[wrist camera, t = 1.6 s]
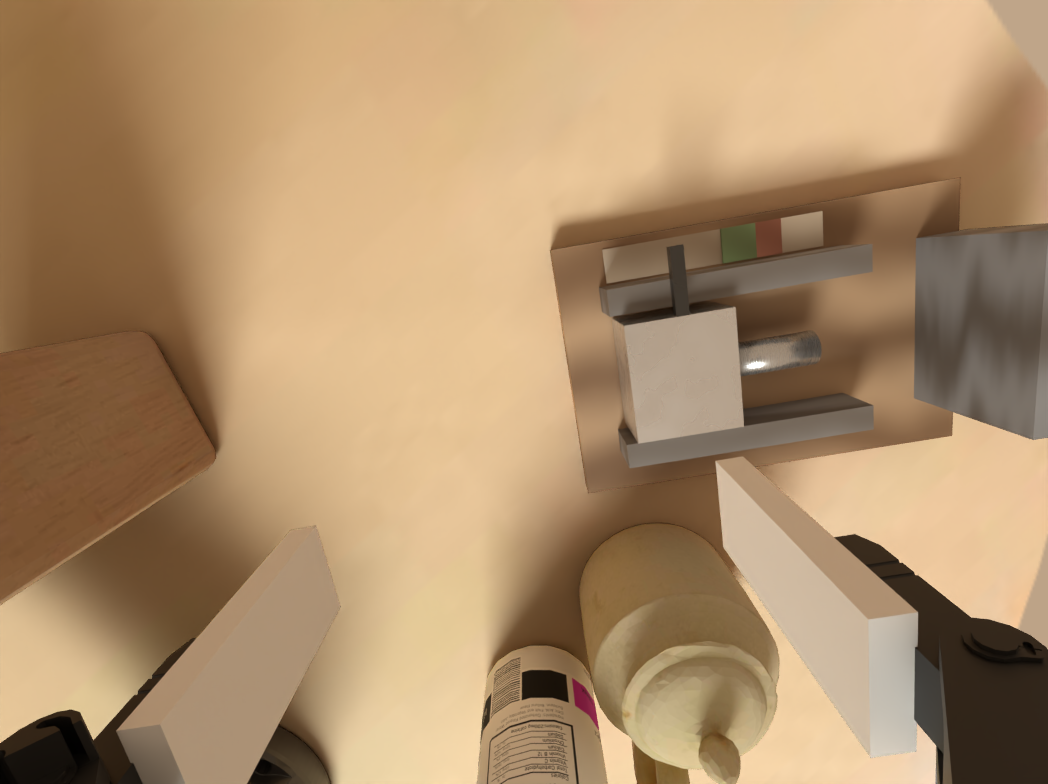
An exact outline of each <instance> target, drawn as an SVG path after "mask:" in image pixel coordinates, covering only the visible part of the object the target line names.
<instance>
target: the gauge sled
mask: <svg viewBox="0 0 1048 784" xmlns="http://www.w3.org/2000/svg"><path fill="white" fill-rule="evenodd" d="M666 248H667V258H668V268H669V278H670V288H671V298H672V308H668V309H662V310H656V311H650V312H644V313H638V314H633V315H627V316H621V317H615V318H612V325H613V333H614V341H615V348H616V356H617V364H618V371H619V379H620V387H621V395H622V402H623V410H624V418H625V423H626V425H627V426H628V428H629V429H630V431H631V433H632V434H633V436H634V437H635V439H636V440H637V442H638V444H640V443H646V442H652V441H658V440H664V439H671V438H677V437H683V436H689V435H695V434H702V433H708V432H714V431H720V430H726V429H732V428H739V427H744V418H743V404H742V390H741V376H747V375H753V374H759V373H765V372H771V371H777V370H783V369H789V368H795V367H801V366H807V365H813V364H817V363H818V362H819V361H820V358H821V353H822V349H821V343H820V340H819V338H818V336H817V334H816V333H815V332H814V331H811V330H809V331H803V332H797V333H791V334H785V335H779V336H773V337H767V338H761V339H755V340H749V341H743V342H738V334H737V319H736V307H734V306H729V305H724V304H720V303H715V302H710V301H708V302H703V303H697V304H691V305H689V299H688V288H687V278H686V267H685V256H684V245H683V244H680V245H674V246H669V247H666Z"/></svg>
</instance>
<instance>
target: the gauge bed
mask: <svg viewBox="0 0 1048 784" xmlns="http://www.w3.org/2000/svg"><path fill="white" fill-rule="evenodd" d="M960 178H961V177H960ZM960 178H954V179H949V180H943V181H937V182H932V183H926V184H921V185H915V186H909V187H904V188H898V189H892V190H887V191H881V192H876V193H870V194H864V195H859V196H853V197H847V198H842V199H836V200H831V201H825V202H819V203H814V204H808V205H802V206H797V207H791V208H786V209H780V210H774V211H769V212H763V213H757V214H752V215H746V216H741V217H735V218H729V219H724V220H718V221H712V222H707V223H701V224H696V225H690V226H684V227H679V228H673V229H667V230H662V231H656V232H651V233H645V234H639V235H634V236H628V237H622V238H617V239H611V240H605V241H600V242H594V243H589V244H583V245H577V246H572V247H566V248H560V249H555V250H550V253H551V260H552V266H553V273H554V279H555V286H556V292H557V299H558V305H559V312H560V318H561V325H562V331H563V338H564V344H565V351H566V357H567V364H568V370H569V377H570V383H571V390H572V396H573V403H574V409H575V416H576V422H577V429H578V435H579V442H580V448H581V455H582V461H583V468H584V474H585V481H586V486H587V489H588V493H593V492H600V491H606V490H612V489H619V488H625V487H631V486H637V485H644V484H650V483H656V482H663V481H669V480H675V479H682V478H688V477H694V476H701V475H707V474H713V473H717V472H716V461H718V460H724V459H730V458H736V457H742V456H743V457H744V458H745V459H746V460H747V461H749V462H750V463H751V464H752V465H753V466H754V467H758V466H764V465H770V464H776V463H783V462H789V461H795V460H802V459H808V458H814V457H821V456H827V455H833V454H840V453H846V452H852V451H859V450H865V449H871V448H878V447H884V446H890V445H897V444H903V443H909V442H915V441H922V440H928V439H934V438H941V437H947V436H952V424H953V412H955V413H957V414H960V415H963V416H966V417H969V418H972V419H975V420H978V421H980V422H983V423H986V424H989V425H992V426H995V427H998V428H1000V429H1003V430H1006V431H1009V432H1012V433H1015V434H1018V435H1020V436H1023V437H1026V438H1029V439H1032V440H1036V439H1042V438H1048V223H1046V224H1033V225H1019V226H1005V227H992V228H978V229H966V230H960V231H959V208H960ZM680 244H683V245H684V256H685V267H686V278H687V288H688V299H689V305H691V304H697V303H703V302H708V301H710V302H715V303H720V304H724V305H729V306H734V307H736V319H737V334H738V342H743V341H749V340H755V339H761V338H767V337H773V336H779V335H785V334H791V333H797V332H803V331H809V330H811V331H814V332H815V333H816V334H817V336H818V338H819V340H820V343H821V349H822V353H821V358H820V361H819V362H818V363H817V364H813V365H807V366H801V367H795V368H789V369H783V370H777V371H771V372H765V373H759V374H753V375H747V376H741V390H742V404H743V418H744V427H739V428H732V429H726V430H720V431H714V432H708V433H702V434H695V435H689V436H683V437H677V438H671V439H664V440H658V441H652V442H646V443H640V444H638V442H637V440H636V439H635V437H634V436H633V434H632V433H631V431H630V429H629V428H628V426H627V425H626V423H625V418H624V410H623V402H622V395H621V387H620V379H619V371H618V364H617V356H616V348H615V341H614V333H613V325H612V318H615V317H621V316H627V315H633V314H638V313H644V312H650V311H656V310H662V309H668V308H672V298H671V288H670V278H669V268H668V258H667V248H666V247H669V246H674V245H680Z"/></svg>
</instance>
